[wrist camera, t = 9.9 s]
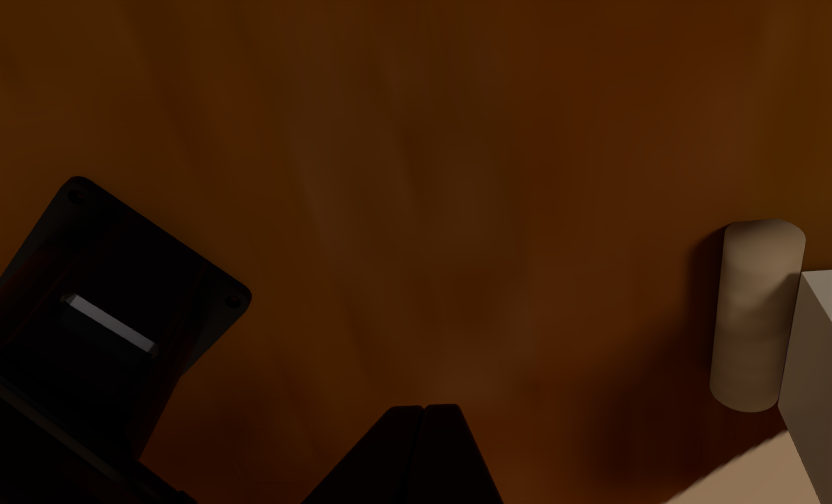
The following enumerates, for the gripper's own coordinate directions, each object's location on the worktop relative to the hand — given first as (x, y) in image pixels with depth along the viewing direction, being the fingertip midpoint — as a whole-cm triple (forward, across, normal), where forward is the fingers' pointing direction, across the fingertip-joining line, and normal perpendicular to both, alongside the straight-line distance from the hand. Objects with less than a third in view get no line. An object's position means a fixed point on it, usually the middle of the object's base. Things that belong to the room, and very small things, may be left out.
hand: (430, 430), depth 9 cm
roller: (+11, +9, -8) cm, 17 cm away
